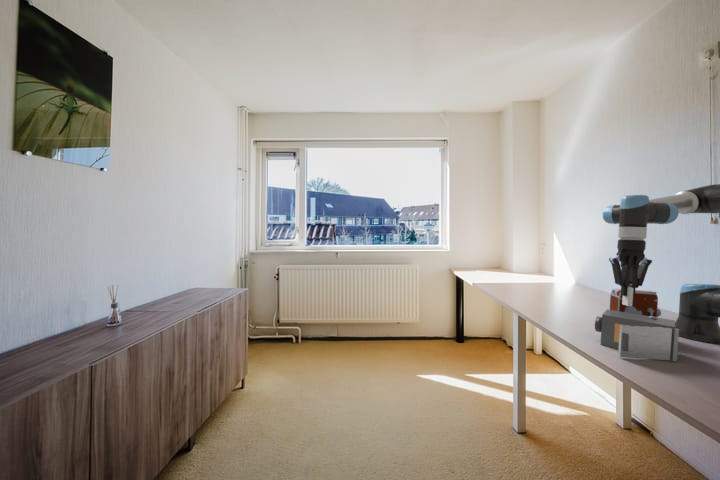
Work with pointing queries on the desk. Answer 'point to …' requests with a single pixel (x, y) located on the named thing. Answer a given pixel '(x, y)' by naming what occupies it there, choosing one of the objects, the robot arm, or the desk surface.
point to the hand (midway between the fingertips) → (627, 305)
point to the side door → (645, 342)
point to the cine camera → (636, 303)
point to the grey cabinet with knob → (614, 319)
